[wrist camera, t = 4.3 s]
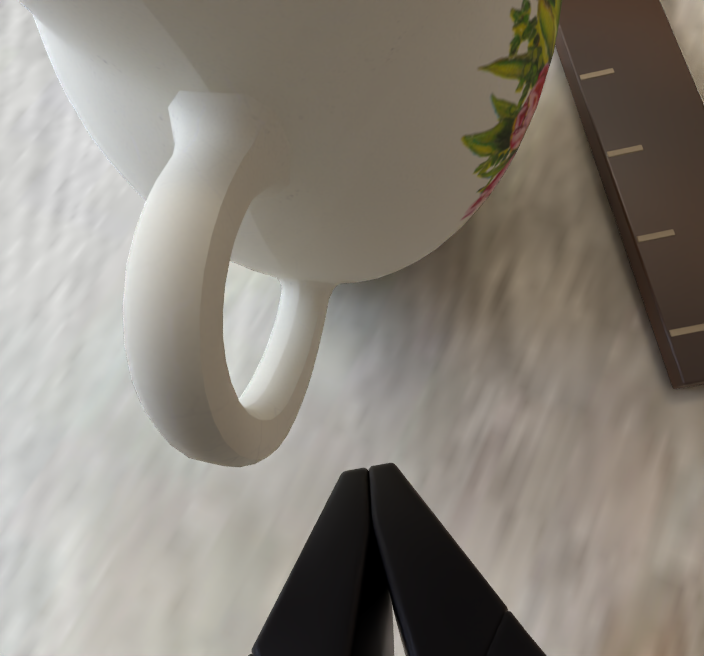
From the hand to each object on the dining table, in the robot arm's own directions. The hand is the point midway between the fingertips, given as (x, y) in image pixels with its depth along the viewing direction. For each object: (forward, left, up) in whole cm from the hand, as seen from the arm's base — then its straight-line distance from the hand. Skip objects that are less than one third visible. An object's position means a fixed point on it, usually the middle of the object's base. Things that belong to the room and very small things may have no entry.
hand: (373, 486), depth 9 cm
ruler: (+3, -13, -8) cm, 16 cm away
